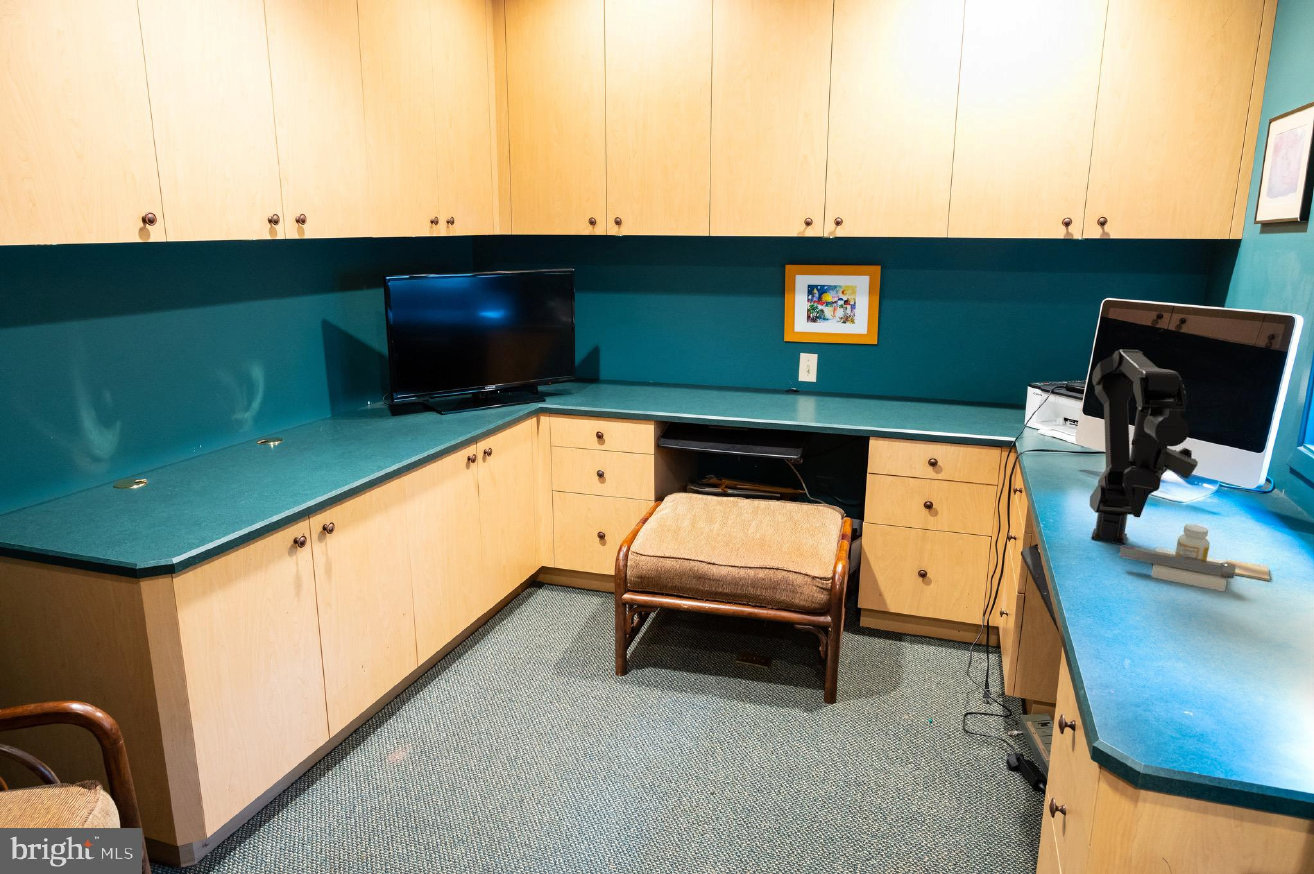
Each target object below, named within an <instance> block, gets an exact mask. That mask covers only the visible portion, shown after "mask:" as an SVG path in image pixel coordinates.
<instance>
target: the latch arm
mask: <svg viewBox="0 0 1314 874" xmlns="http://www.w3.org/2000/svg"><path fill="white" fill-rule="evenodd" d="M1120 545H1121V546H1120V550H1119V558H1123V559H1129V560H1135V561H1140V562H1145V563H1149V564H1154V563H1155V564H1160V565H1165V566H1170V567H1176V568H1181V569H1186V570H1191V571H1197V572H1202V573H1207V574H1212V575H1218V576H1222V577H1225V578H1226V579H1234V578H1235V575H1234V574H1235V569H1236V565H1234V564H1231V563H1226V561H1225V562H1223V563H1217V562H1212V561H1207V560H1201V559H1196V558H1190V557H1185V556H1179V555H1174V554H1168V553H1163V552H1158V551H1156V550H1151V549H1146V548H1142V547H1135V546H1129V545H1125V544H1120Z"/></svg>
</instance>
